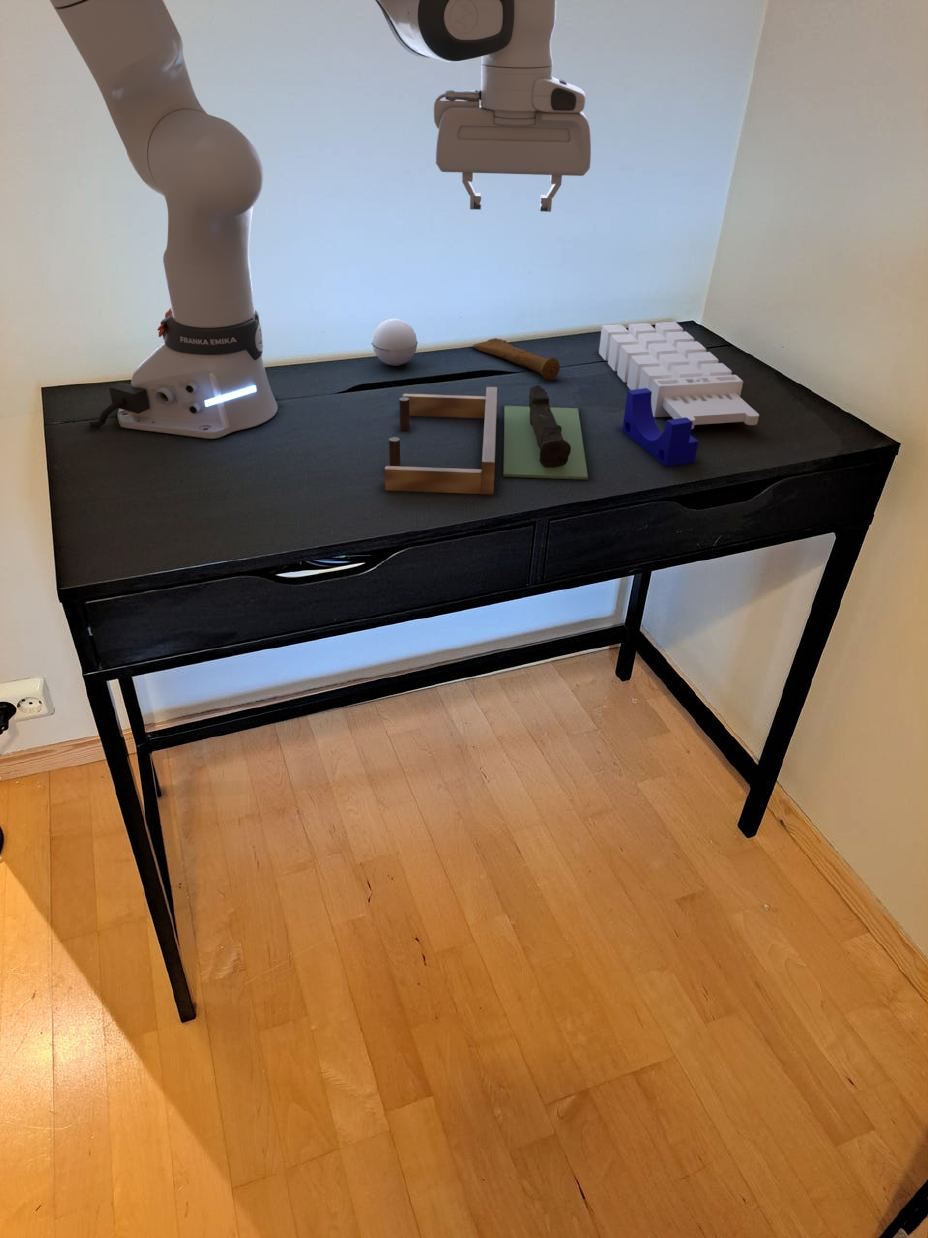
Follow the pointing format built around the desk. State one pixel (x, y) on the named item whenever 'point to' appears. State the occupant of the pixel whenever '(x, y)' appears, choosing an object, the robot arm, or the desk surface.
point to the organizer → (675, 373)
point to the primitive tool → (520, 357)
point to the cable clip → (658, 431)
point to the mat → (525, 449)
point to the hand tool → (547, 430)
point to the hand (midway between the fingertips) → (510, 209)
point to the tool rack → (445, 477)
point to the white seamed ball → (394, 342)
